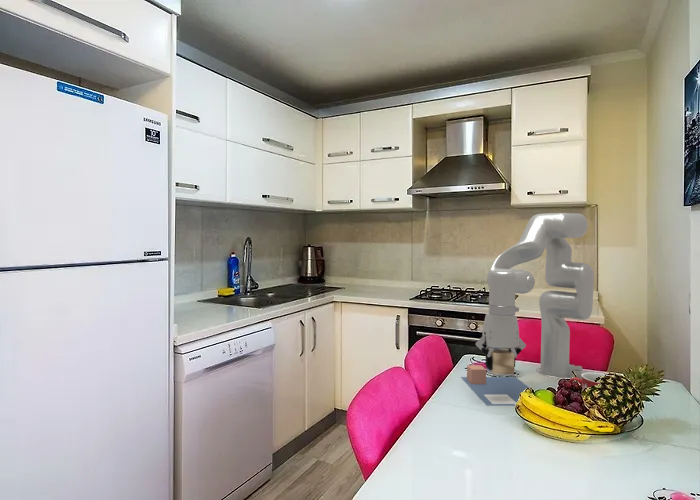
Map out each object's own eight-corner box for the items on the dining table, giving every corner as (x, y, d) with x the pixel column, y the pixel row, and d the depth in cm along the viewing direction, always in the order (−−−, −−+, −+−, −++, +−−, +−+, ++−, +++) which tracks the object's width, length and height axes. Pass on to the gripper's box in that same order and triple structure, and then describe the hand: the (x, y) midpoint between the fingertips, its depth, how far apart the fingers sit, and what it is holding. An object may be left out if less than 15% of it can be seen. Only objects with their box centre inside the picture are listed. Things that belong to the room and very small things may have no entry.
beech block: (505, 368, 132) (506, 349, 132) (513, 374, 126) (514, 354, 126) (487, 368, 132) (487, 349, 132) (494, 373, 126) (494, 354, 126)
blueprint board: (515, 379, 151) (515, 376, 151) (552, 408, 125) (552, 405, 125) (460, 379, 150) (460, 376, 150) (486, 408, 124) (486, 405, 124)
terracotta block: (480, 379, 148) (481, 365, 148) (485, 384, 143) (486, 369, 143) (466, 379, 148) (467, 365, 148) (471, 384, 143) (471, 369, 143)
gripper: (523, 309, 133) (522, 365, 133) (469, 308, 132) (468, 365, 133) (534, 313, 126) (533, 373, 126) (478, 312, 125) (476, 372, 125)
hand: (500, 368), depth 129 cm, fingers closed on beech block, 6 cm apart
